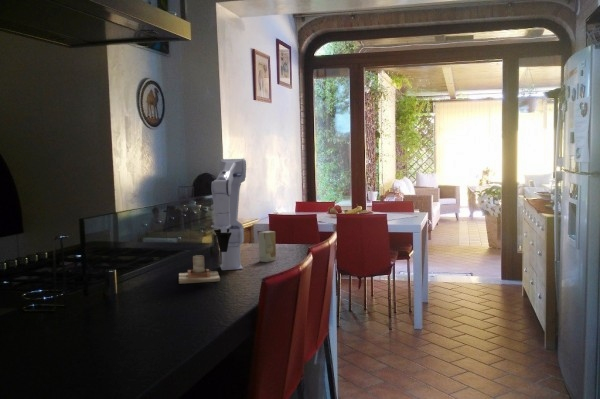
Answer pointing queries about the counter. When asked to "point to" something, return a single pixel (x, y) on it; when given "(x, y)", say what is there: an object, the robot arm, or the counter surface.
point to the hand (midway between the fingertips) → (223, 250)
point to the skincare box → (267, 246)
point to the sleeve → (198, 264)
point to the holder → (198, 277)
